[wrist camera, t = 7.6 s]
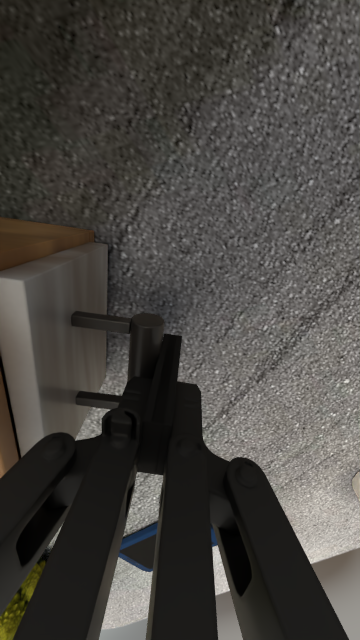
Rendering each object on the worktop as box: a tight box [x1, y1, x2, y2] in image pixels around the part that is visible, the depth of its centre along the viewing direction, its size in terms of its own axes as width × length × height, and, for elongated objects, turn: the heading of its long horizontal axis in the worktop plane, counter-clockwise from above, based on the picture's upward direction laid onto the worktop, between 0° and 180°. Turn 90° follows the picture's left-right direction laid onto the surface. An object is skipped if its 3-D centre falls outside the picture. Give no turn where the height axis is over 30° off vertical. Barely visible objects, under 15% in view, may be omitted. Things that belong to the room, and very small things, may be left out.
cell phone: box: [118, 523, 218, 572], centre depth 31 cm, size 7×14×1 cm, turn 131°
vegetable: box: [0, 557, 46, 640], centre depth 31 cm, size 15×16×15 cm
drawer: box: [0, 242, 165, 458], centre depth 14 cm, size 17×11×9 cm, turn 82°
